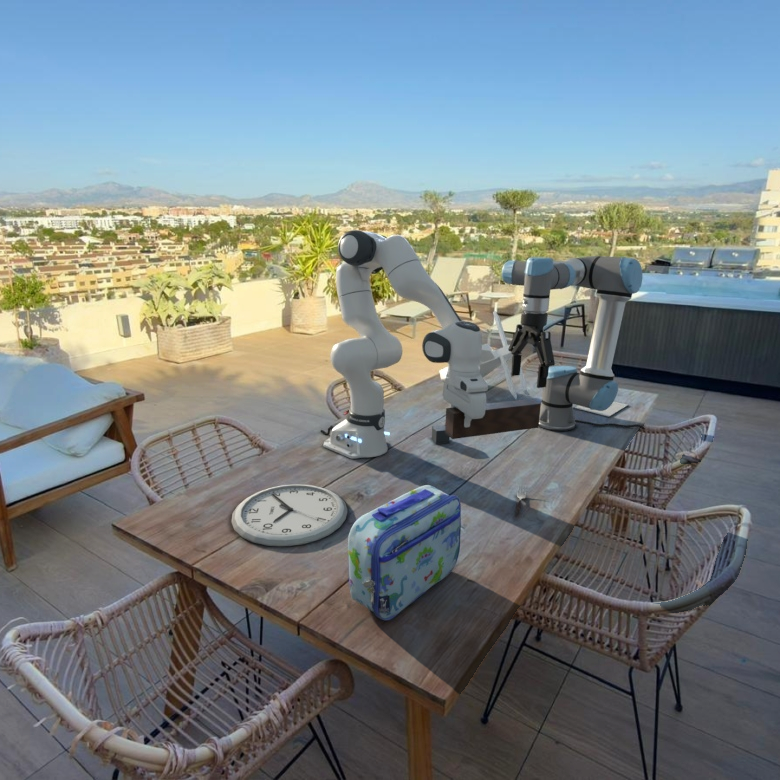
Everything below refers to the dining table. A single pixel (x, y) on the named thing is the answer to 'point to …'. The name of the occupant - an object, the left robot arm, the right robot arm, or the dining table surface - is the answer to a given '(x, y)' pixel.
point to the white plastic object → (496, 361)
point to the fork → (520, 496)
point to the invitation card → (608, 412)
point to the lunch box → (403, 549)
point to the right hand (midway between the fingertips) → (527, 381)
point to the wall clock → (289, 515)
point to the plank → (495, 419)
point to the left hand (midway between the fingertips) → (461, 422)
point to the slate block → (439, 435)
